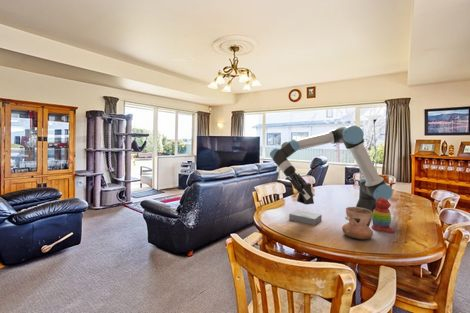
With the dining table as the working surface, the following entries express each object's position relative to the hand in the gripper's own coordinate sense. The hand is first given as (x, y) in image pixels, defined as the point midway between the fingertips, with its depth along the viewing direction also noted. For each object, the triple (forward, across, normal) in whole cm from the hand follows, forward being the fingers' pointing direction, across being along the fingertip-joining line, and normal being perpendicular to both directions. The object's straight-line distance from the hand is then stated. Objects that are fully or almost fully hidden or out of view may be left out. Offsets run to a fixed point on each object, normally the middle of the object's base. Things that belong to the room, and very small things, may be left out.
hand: (311, 197), depth 156 cm
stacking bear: (+36, -12, +16) cm, 41 cm away
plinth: (+8, 0, -13) cm, 15 cm away
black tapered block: (0, 0, -5) cm, 5 cm away
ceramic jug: (+31, +8, +10) cm, 33 cm away
